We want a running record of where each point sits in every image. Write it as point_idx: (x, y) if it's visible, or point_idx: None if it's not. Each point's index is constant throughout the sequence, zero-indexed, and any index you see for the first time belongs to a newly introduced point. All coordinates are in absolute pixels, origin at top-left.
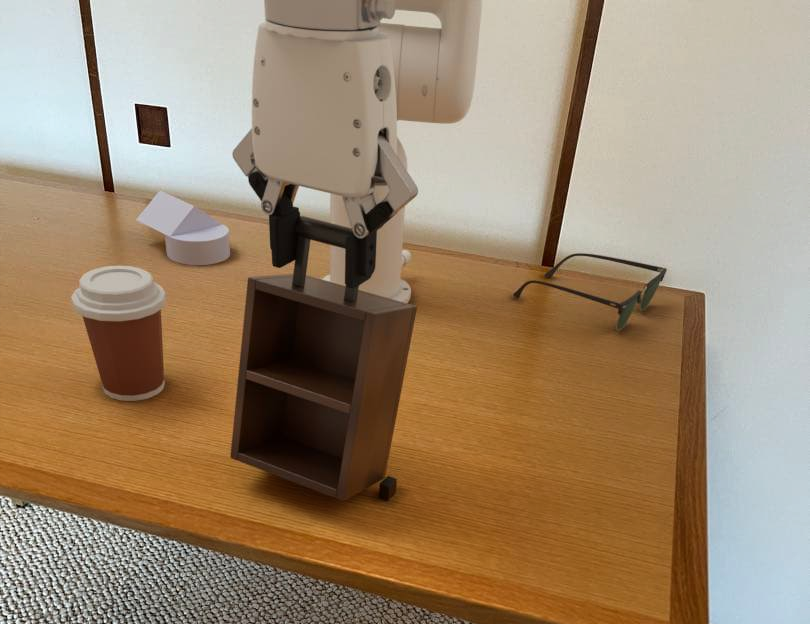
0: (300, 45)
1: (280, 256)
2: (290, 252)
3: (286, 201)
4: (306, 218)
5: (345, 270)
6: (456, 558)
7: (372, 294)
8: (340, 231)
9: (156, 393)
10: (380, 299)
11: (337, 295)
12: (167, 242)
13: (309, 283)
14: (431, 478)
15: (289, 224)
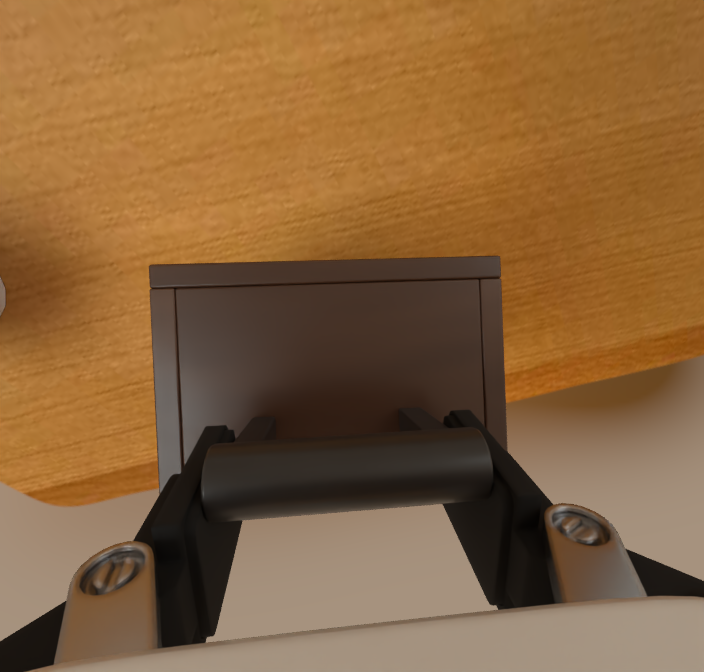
0: None
1: (237, 534)
2: None
3: (161, 624)
4: (235, 508)
5: (453, 525)
6: (515, 355)
7: (384, 271)
8: (402, 506)
9: (3, 288)
10: (425, 303)
11: (364, 403)
12: None
13: (251, 361)
14: (438, 243)
15: (212, 557)
